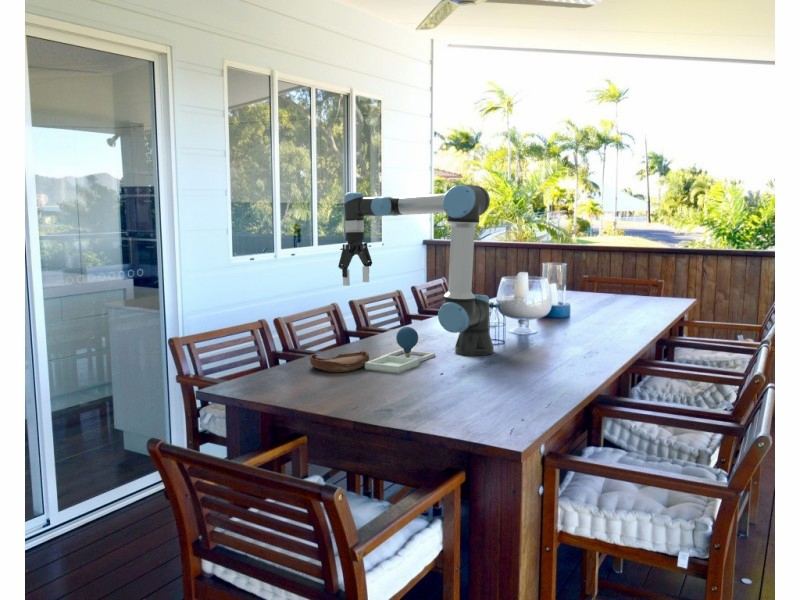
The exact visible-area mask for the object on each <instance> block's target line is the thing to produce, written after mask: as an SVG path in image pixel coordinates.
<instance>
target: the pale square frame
mask: <svg viewBox="0 0 800 600" xmlns="http://www.w3.org/2000/svg"><path fill="white" fill-rule="evenodd" d="M401 354H405V352H404V349H403V348H402V349H398V350H395V351H392V352H388V353H387V354H383V355H381V356H379V357H378V358H380V357H383V356H386V355H388V356H398V355H401ZM410 355H414V356H415V355H416V356H420V357H417V358H416V359H419V363H421V362H423V361H426V360H428V359H432V358H434V357H436V352H430V351H420V350H412V349H411V352H410Z"/></svg>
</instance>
